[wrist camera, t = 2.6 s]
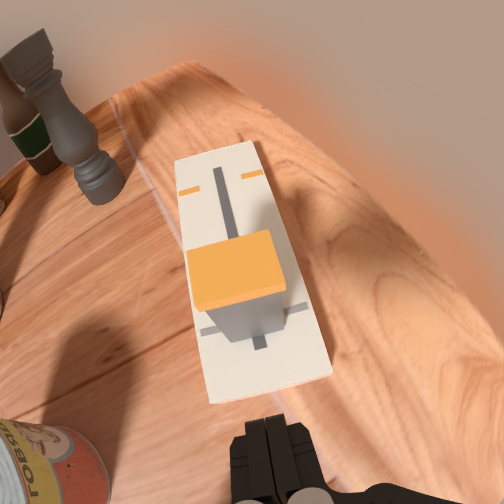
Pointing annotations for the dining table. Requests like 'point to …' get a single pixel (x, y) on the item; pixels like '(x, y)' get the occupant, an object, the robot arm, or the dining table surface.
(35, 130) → the beer bottle
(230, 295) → the fader knob
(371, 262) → the dining table surface
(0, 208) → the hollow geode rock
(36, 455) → the canned food
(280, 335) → the fader console
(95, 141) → the candle holder
